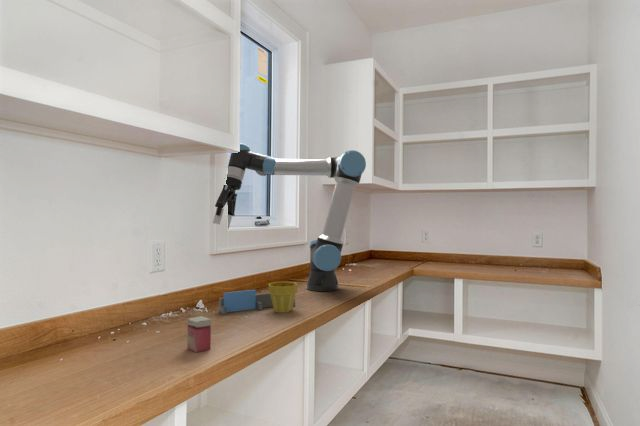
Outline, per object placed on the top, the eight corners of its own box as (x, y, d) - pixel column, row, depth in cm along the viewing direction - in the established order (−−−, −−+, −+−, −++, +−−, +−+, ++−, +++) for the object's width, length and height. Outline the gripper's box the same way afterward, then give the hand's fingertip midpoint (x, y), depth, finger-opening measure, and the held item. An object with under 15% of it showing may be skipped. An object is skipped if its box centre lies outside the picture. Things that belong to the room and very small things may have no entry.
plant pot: (283, 315, 144) (283, 287, 144) (262, 311, 150) (262, 284, 150) (302, 309, 152) (302, 283, 152) (281, 306, 158) (282, 280, 158)
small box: (186, 348, 108) (186, 318, 108) (201, 344, 111) (201, 315, 111) (196, 353, 105) (196, 321, 105) (211, 349, 108) (211, 318, 108)
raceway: (289, 303, 163) (289, 285, 163) (295, 305, 159) (295, 287, 159) (219, 311, 149) (219, 292, 149) (223, 314, 144) (223, 294, 144)
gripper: (232, 185, 189) (220, 229, 185) (217, 168, 165) (202, 219, 161) (248, 188, 189) (236, 233, 185) (235, 171, 164) (221, 222, 160)
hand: (220, 226), depth 173 cm, fingers open, 13 cm apart
